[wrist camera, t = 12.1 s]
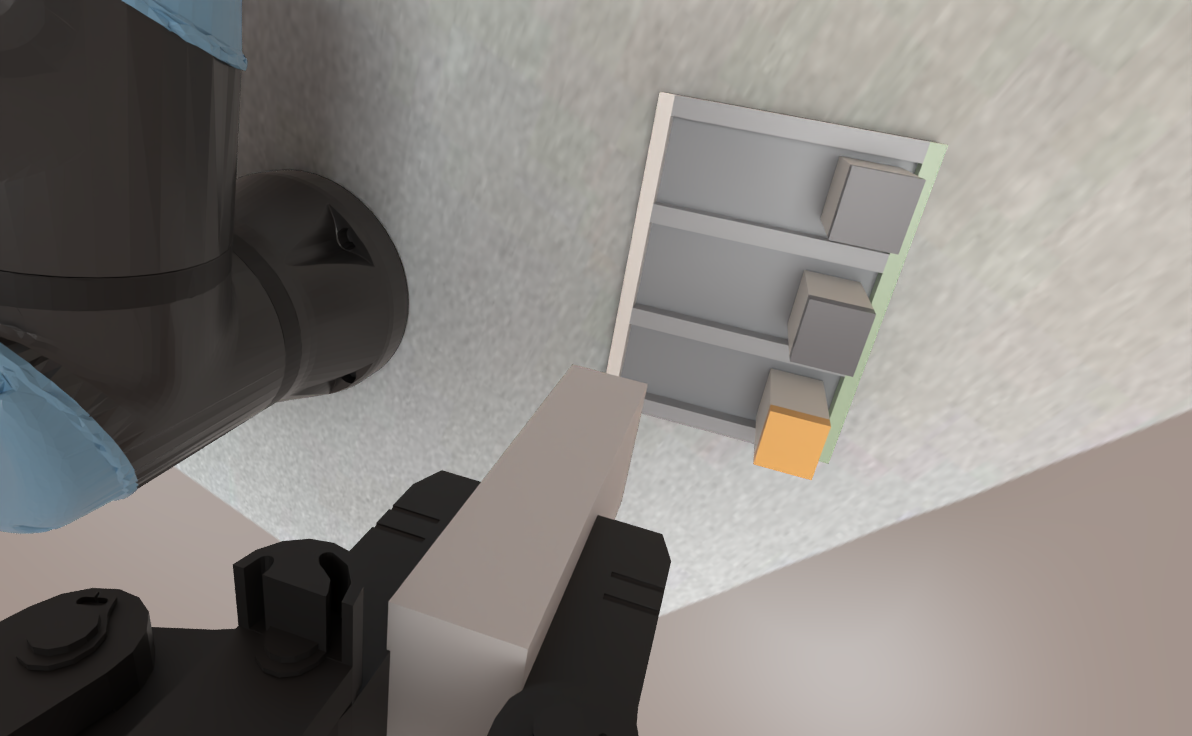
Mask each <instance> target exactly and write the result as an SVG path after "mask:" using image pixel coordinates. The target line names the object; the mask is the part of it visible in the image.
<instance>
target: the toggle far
mask: <svg viewBox="0 0 1192 736" xmlns="http://www.w3.org/2000/svg"><path fill="white" fill-rule="evenodd" d="M830 428H831V423H830V418H829V412H828V406H827V401H826V395H825V389H824V384H823V381H820V380H816V379H812V378H808V377H804V376H800V375H796V374H792V373H788V372H784V371H780V370H776V369H772V368H771V369H770V373H769V376H768V379H767V382H766V386H765V389H764V392H763V395H762V399H761V402H760V405H759V408H758V412H757V415H756V428H755V445H754V463H753V464H755V465H758V466H762V467H765V468H769V469H773V470H776V471H780V472H784V473H787V474H791V475H795V476H798V477H802V478H805V479H809V480H812V477H813V475H814V472H815V469H816V466H817V464H818V461H819V458H820V456H821V453H822V450H823V447H824V445H825V442H826V439H827V437H828V434H829V431H830Z"/></svg>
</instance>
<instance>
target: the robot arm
mask: <svg viewBox="0 0 1192 736" xmlns="http://www.w3.org/2000/svg"><path fill="white" fill-rule="evenodd" d="M246 69H247V59H246V57H245V56H244V54H243V53H242V0H0V531H3V532H10V533H41V532H46V531H50V530H52V529H58V528H60V527H63V526H65V525H67V524H70V523H71V522H73V521H75V520H77V519H79V518H80V517H83V516H85V515H87V514H88V513H90V512H92V511H94V510H96V509H98V508H100V507H102V506H103V505H105V504H107V503H109V502H111V501H113V500H114V501H116V500H119V499H124V498H126V497H128V496H130V495H131V494H133V493H134V492H135V491H136V490H137V489H138V488H140V487H141V486H143V485H144V484H146V483H148V482H149V481H151V480H152V479H154V478H156V477H157V476H159V475H160V474H162V473H164V472H165V471H167V470H168V469H170V468H171V467H173V466H175V465H176V464H178V463H180V462H181V461H183V460H184V459H186V458H188V457H189V456H191V455H192V454H194V453H196V452H197V451H199V450H200V449H202V448H204V447H205V446H207V445H208V444H210V443H212V442H213V441H215V440H217V439H218V438H220V437H221V436H223V435H225V434H226V433H228V432H229V431H231V430H233V429H234V428H236V427H237V426H239V425H241V424H242V423H244V422H245V421H247V420H249V419H250V418H252V417H253V416H255V415H257V414H258V413H259V412H261V411H263V410H264V409H266V408H268V407H269V406H271V405H273V404H274V403H276V402H281V401H287V400H294V399H300V398H306V397H313V396H319V395H325V394H331V393H336V392H339V391H342V390H345V389H348V388H350V387H352V386H355V385H356V384H358V383H360V382H361V381H363V380H364V379H366V378H367V377H369V376H370V375H372V374H373V373H375V372H376V371H378V370H379V369H380V368H381V367H383V366H384V365H385V364H386V363H387V362H388V361H389V359H390V358H391V357H392V356H393V354H394V353H395V351H396V350H397V348H398V346H399V344H400V342H401V339H402V337H403V334H404V330H405V326H406V321H407V314H408V293H407V285H406V280H405V275H404V272H403V268H402V265H401V262H400V259H399V257H398V254H397V252H396V249H395V247H394V245H393V243H392V241H391V240H390V238H389V236H388V234H387V233H386V231H385V230H384V228H383V227H382V225H381V224H380V222H379V221H378V220H377V219H376V217H375V216H374V215H373V214H372V213H371V211H370V210H369V209H368V208H367V207H366V206H365V205H364V204H363V203H362V202H361V201H360V200H358V199H357V198H356V197H355V196H354V195H352V194H351V193H350V192H348V191H347V190H346V189H344V188H343V187H341V186H339V185H338V184H336V183H334V182H332V181H330V180H328V179H326V178H324V177H321V176H318V175H316V174H312V173H309V172H304V171H298V170H276V171H269V172H262V173H255V174H250V175H246V176H243V177H240V178H238V179H236V172H237V152H238V131H239V111H240V90H241V70H244V71H246ZM647 385H648V384H646V383H642V382H638V381H634V380H630V379H627V378H623V377H619V376H615V375H611V374H608V373H604V372H600V371H596V370H592V369H589V368H585V367H581V366H577V365H573V364H572V366H571V367H570V368H569V369H568V371H567V372H566V373H565V375H564V376H563V377H562V378H561V380H560V381H559V382H558V384H557V385H556V386H555V387H554V389H553V390H552V391H551V393H550V394H549V395H548V397H547V398H546V399H545V400H544V402H543V403H542V404H541V406H540V407H539V408H538V409H537V411H536V412H535V413H534V415H533V416H532V417H531V418H530V420H529V421H528V422H527V424H526V425H525V426H524V427H523V429H522V430H521V431H520V433H519V434H518V435H517V437H516V438H515V439H514V440H513V442H512V443H511V444H510V446H509V447H508V448H507V449H506V451H505V452H504V453H503V455H502V456H501V457H500V458H499V460H498V461H497V462H496V464H495V465H494V466H493V467H492V469H491V470H490V471H489V473H488V474H487V475H486V477H485V478H484V479H483V480H482V482H479V481H476V480H473V479H469V478H466V477H463V476H459V475H456V474H453V473H449V472H446V471H443V470H442V471H439V472H437V473H435V474H433V475H431V476H429V477H427V478H425V479H423V480H421V481H419V482H417V483H415V484H413V485H412V486H411V487H410V488H409V489H408V490H407V491H406V492H405V493H404V494H403V495H402V496H401V497H400V499H399V500H398V501H397V502H396V503H395V504H394V505H393V508H392V510H390V509H389V510H388V511H387V512H386V513H385V514H384V515H383V516H382V517H381V519H380V520H379V521H378V522H377V524H376V526H375V528H374V527H372V528H371V529H370V530H369V531H368V532H367V533H366V534H365V535H364V536H363V538H362V539H361V540H360V541H359V542H358V543H357V544H356V545H355V546H354V547H353V548H352V549H351V550H350V551H348V550H346V549H344V548H342V547H340V546H339V545H337V544H335V543H331V542H325V541H319V540H313V539H303V540H291V541H282V542H279V543H276V544H273V545H270V546H267V547H264V548H261V549H258V550H255V551H254V552H252V553H251V554H249V555H247V556H246V557H244V558H243V559H241V560H239V561H238V562H236V563H235V564H233V571H234V582H235V593H236V604H237V613H238V625H239V626H238V627H237V628H236V629H221V630H206V629H183V628H159V627H151V622H150V616H149V611H148V610H147V609H146V607H145V605H144V604H143V603H142V601H141V600H140V598H139V597H137V596H134V595H132V594H129V593H127V592H125V591H122V590H120V589H101V588H91V589H85V590H80V591H74V592H70V593H64V594H60V595H58V596H55V597H53V598H51V599H48V600H45V601H42V602H40V603H37V604H35V605H32V606H30V607H28V608H26V609H24V610H22V611H20V612H18V613H16V614H14V615H12V616H10V617H8V618H6V619H4V620H3V621H1V622H0V736H638V730H637V713H638V704H639V701H640V696H641V691H642V687H643V683H644V678H645V674H646V669H647V665H648V660H649V656H650V652H651V647H652V643H653V639H654V634H655V630H656V625H657V621H658V616H659V612H660V608H661V603H662V599H663V594H664V590H665V586H666V581H667V577H668V572H669V568H670V563H671V560H670V556H669V553H668V550H667V547H666V544H665V541H664V538H663V535H662V534H660V533H656V532H653V531H650V530H646V529H643V528H640V527H636V526H633V525H630V524H627V523H623V522H620V521H617V520H615V517H616V515H617V512H618V509H619V507H620V504H621V502H622V498H623V493H624V489H625V484H626V480H627V475H628V471H629V466H630V462H631V457H632V453H633V448H634V444H635V439H636V435H637V430H638V426H639V421H640V417H641V412H642V408H643V403H644V399H645V394H646V390H647Z"/></svg>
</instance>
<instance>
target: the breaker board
mask: <svg viewBox="0 0 1192 736" xmlns="http://www.w3.org/2000/svg"><path fill="white" fill-rule="evenodd" d="M947 147H948V145H945V144H941V143H937V142H931V141H926V140H920V139H915V138H910V137H904V136H899V135H893V134H888V133H883V132H877V131H872V130H866V129H861V128H855V127H850V126H845V125H839V124H834V123H828V122H823V121H818V120H812V119H807V118H801V117H796V116H790V115H785V114H780V113H774V112H769V111H763V110H758V109H752V108H747V107H742V106H736V105H731V104H725V103H720V102H715V101H709V100H704V99H698V98H693V97H687V96H682V95H677V94H671V93H665V92H660V93H659V98H658V103H657V108H656V114H655V119H654V124H653V129H652V135H651V140H650V145H649V150H648V156H647V161H646V166H645V171H644V177H643V182H642V187H641V192H640V198H639V203H638V208H637V213H636V219H635V224H634V229H633V234H632V240H631V245H630V250H629V255H628V261H627V266H626V271H625V276H624V282H623V287H622V292H621V297H620V303H619V308H618V313H617V318H616V324H615V329H614V334H613V340H612V345H611V350H610V355H609V361H608V366H607V371H606V373H608V374H611V375H615V376H619V377H623V378H627V379H630V380H634V381H638V382H642V383H646V384H648V385H647V390H646V394H645V399H644V403H643V408H642V412H641V413H642V414H646V415H650V416H653V417H657V418H661V419H664V420H668V421H672V422H676V423H679V424H683V425H687V426H690V427H694V428H698V429H702V430H705V431H709V432H713V433H716V434H720V435H724V436H727V437H731V438H735V439H739V440H742V441H746V442H750V443H753V444H755V428H756V415H757V412H758V408H759V405H760V402H761V399H762V395H763V392H764V389H765V386H766V382H767V379H768V376H769V373H770V369H771V368H772V369H776V370H780V371H784V372H788V373H792V374H796V375H800V376H804V377H808V378H812V379H816V380H820V381H823V384H824V389H825V395H826V401H827V406H828V412H829V418H830V423H831V428H830V431H829V434H828V437H827V439H826V442H825V445H824V447H823V450H822V453H821V456H820V458H819V461H820V462H824V463H827V464H829V461H830V458H831V456H832V453H833V450H834V448H835V445H836V442H837V440H838V437H839V434H840V432H841V429H842V426H843V424H844V421H845V418H846V416H847V413H848V410H849V408H850V405H851V402H852V400H853V397H854V394H855V392H856V389H857V386H858V384H859V381H860V378H861V376H862V373H863V370H864V368H865V365H866V363H867V360H868V357H869V355H870V352H871V349H872V347H873V344H874V341H875V339H876V336H877V333H878V331H879V328H880V325H881V323H882V320H883V317H884V315H885V312H886V309H887V307H888V304H889V301H890V299H891V296H892V293H893V291H894V288H895V285H896V283H897V280H898V277H899V275H900V272H901V269H902V267H903V264H904V261H905V259H906V256H907V253H908V251H909V248H910V246H911V243H912V240H913V238H914V235H915V232H916V230H917V227H918V224H919V222H920V219H921V216H922V214H923V211H924V208H925V206H926V203H927V200H928V198H929V195H930V192H931V190H932V187H933V184H934V182H935V179H936V176H937V174H938V171H939V168H940V166H941V163H942V160H943V158H944V155H945V152H946V150H947ZM840 156H843V157H849V158H854V159H859V160H864V161H869V162H875V163H880V164H885V165H890V166H895V167H901V168H903V169H905V170H907V171H909V172H911V173H913V174H915V175H917V176H919V177H921V178H923V179H925V180H926V181H925V184H924V187H923V190H922V192H921V195H920V198H919V200H918V203H917V206H916V209H915V211H914V214H913V217H912V219H911V222H910V225H909V227H908V230H907V233H906V236H905V238H904V241H903V244H902V246H901V249H900V252H899V254H898V255H897V254H893V253H888V252H883V251H879V250H874V249H869V248H865V247H860V246H855V245H851V244H846V243H841V242H837V241H832V240H829V239H828V237H827V234H826V232H825V229H824V227H823V224H822V222H821V219H820V218H821V215H822V212H823V208H824V205H825V202H826V199H827V195H828V192H829V189H830V186H831V183H832V179H833V176H834V173H835V170H836V166H837V163H838V160H839V157H840ZM804 270H807V271H811V272H816V273H820V274H825V275H829V276H834V277H838V278H843V279H847V280H852V281H856V282H861V284H862V286H863V288H864V290H865V292H866V294H867V296H868V298H869V300H870V303H871V305H872V307H873V309H874V311H875V313H876V317H875V319H874V322H873V325H872V327H871V330H870V333H869V335H868V338H867V341H866V344H865V346H864V349H863V352H862V354H861V357H860V360H859V362H858V365H857V368H856V371H855V373H854V376H853V377H851V376H847V375H842V374H838V373H834V372H830V371H826V370H822V369H818V368H814V367H810V366H806V365H802V364H798V363H794V362H790V359H789V342H788V326H787V324H788V321H789V318H790V315H791V311H792V308H793V305H794V302H795V298H796V295H797V292H798V289H799V286H800V282H801V279H802V276H803V273H804Z"/></svg>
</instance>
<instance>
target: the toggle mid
mask: <svg viewBox="0 0 1192 736" xmlns="http://www.w3.org/2000/svg"><path fill="white" fill-rule="evenodd" d="M875 317H876V313H875V311H874V309H873V307H872V305H871V303H870V300H869V298H868V296H867V294H866V292H865V290H864V288H863V286H862V284H861V282H856V281H852V280H847V279H843V278H838V277H834V276H829V275H825V274H820V273H816V272H811V271H807V270H804V273H803V276H802V279H801V282H800V286H799V289H798V292H797V295H796V298H795V302H794V305H793V308H792V311H791V315H790V318H789V321H788V324H787V326H788V342H789V359H790V362H794V363H798V364H802V365H806V366H810V367H814V368H818V369H822V370H826V371H830V372H834V373H838V374H842V375H847V376H851V377H853V376H854V373H855V371H856V368H857V365H858V362H859V360H860V357H861V354H862V352H863V349H864V346H865V344H866V341H867V338H868V335H869V333H870V330H871V327H872V325H873V322H874V319H875Z"/></svg>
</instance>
